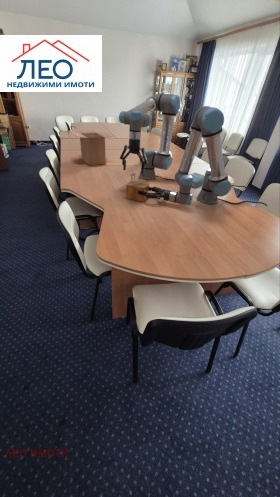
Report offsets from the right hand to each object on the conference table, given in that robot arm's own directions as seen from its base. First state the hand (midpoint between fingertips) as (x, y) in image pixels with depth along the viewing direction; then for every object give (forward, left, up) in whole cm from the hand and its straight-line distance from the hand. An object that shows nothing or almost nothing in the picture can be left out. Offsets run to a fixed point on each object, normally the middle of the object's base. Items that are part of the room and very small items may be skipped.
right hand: (140, 189), depth 162 cm
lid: (+3, -1, +3) cm, 4 cm away
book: (-52, -38, -7) cm, 65 cm away
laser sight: (-16, -93, -7) cm, 94 cm away
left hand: (+6, -3, +12) cm, 14 cm away
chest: (+2, -1, -7) cm, 7 cm away
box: (+45, -93, -7) cm, 103 cm away
